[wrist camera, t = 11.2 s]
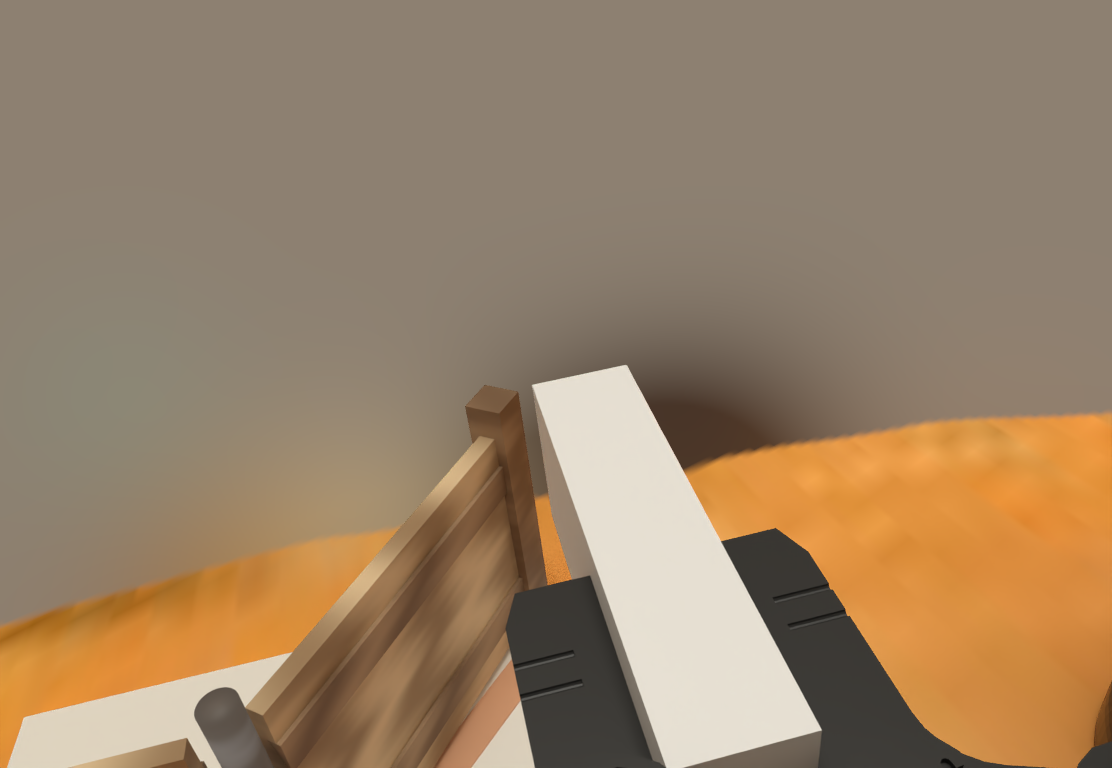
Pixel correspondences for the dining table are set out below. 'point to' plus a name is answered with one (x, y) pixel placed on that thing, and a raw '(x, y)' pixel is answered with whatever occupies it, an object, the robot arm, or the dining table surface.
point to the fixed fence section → (152, 757)
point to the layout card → (168, 709)
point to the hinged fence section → (404, 625)
